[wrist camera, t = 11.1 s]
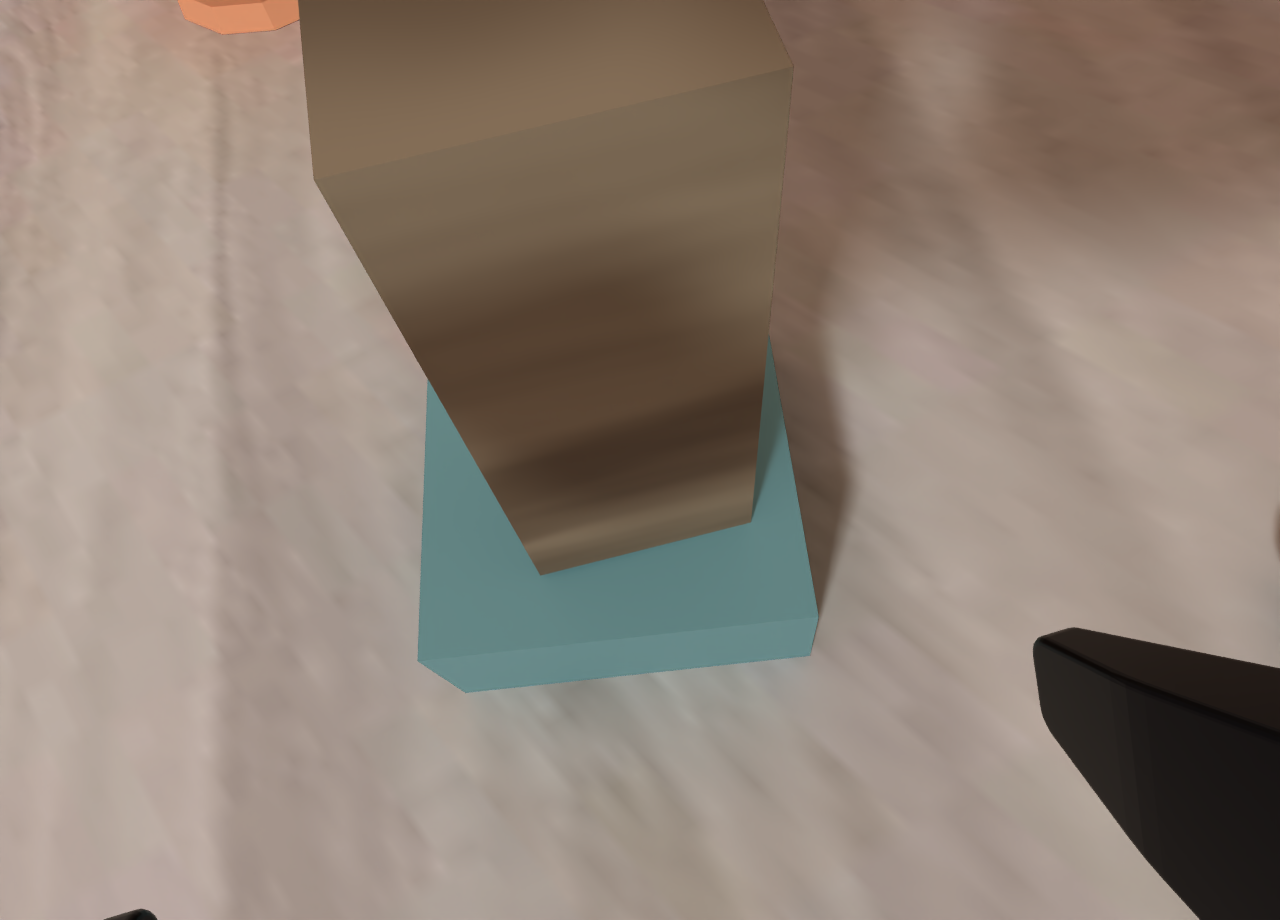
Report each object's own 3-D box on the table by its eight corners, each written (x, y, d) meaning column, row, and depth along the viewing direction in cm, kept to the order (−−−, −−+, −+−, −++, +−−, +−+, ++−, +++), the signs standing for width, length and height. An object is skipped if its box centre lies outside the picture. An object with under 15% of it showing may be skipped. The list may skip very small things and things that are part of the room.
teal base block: (809, 659, 22) (818, 617, 19) (470, 696, 23) (417, 660, 20) (760, 366, 27) (760, 285, 23) (472, 404, 27) (429, 331, 24)
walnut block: (751, 522, 20) (794, 66, 9) (540, 575, 20) (313, 179, 9) (694, 347, 22) (673, -194, 11) (505, 394, 22) (288, -108, 11)
